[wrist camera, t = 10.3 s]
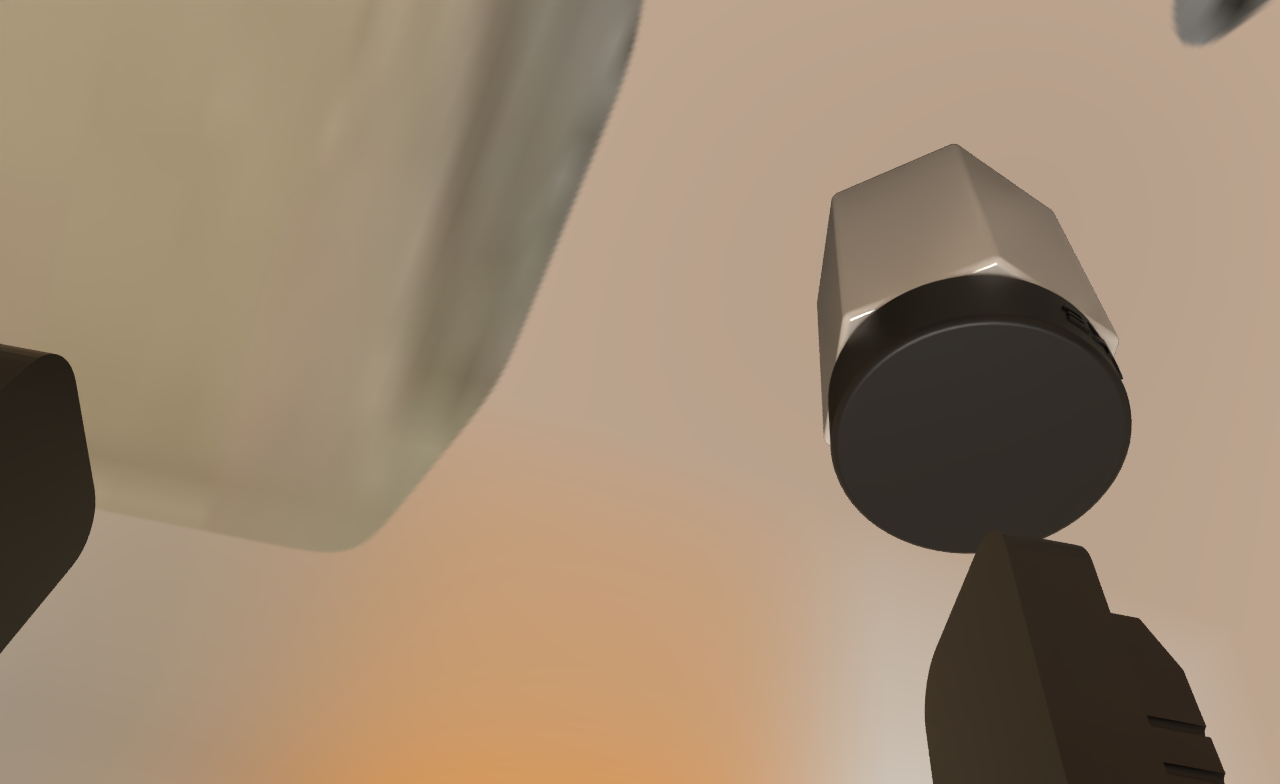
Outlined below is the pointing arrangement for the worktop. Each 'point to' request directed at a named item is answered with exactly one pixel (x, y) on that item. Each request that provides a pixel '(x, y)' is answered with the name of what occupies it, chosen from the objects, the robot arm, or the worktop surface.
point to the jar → (964, 358)
